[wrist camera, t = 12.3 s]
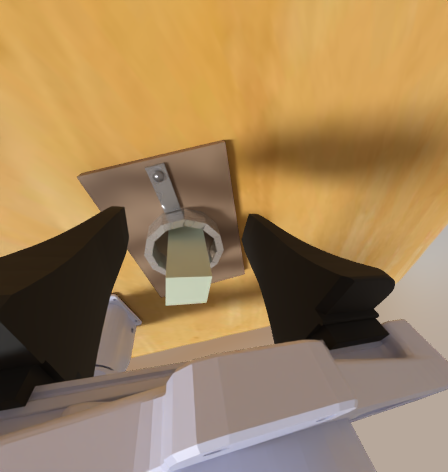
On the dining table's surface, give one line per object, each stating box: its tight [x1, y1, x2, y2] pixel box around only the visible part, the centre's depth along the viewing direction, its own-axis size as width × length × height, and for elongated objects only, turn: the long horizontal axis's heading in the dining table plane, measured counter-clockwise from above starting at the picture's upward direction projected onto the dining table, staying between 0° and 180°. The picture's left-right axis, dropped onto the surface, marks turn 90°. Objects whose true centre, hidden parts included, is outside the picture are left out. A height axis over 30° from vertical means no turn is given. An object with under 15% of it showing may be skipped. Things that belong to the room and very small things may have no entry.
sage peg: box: [166, 226, 212, 306], centre depth 20 cm, size 4×4×8 cm
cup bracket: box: [77, 140, 245, 297], centre depth 23 cm, size 20×14×4 cm
